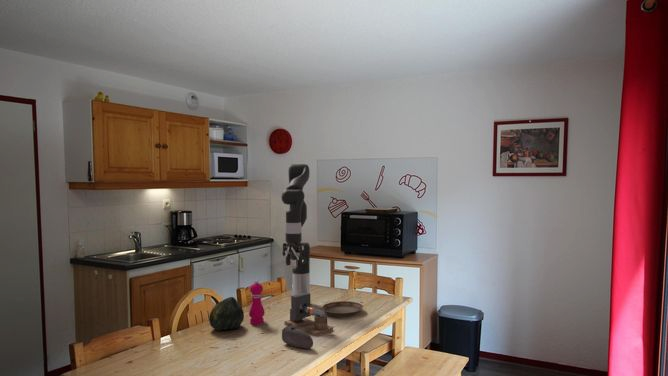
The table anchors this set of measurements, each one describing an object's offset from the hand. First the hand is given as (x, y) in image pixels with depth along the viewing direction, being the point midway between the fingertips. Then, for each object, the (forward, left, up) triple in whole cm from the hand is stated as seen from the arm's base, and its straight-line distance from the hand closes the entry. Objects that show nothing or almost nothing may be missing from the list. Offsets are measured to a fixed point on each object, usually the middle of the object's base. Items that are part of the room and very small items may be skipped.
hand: (293, 266), depth 207 cm
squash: (-15, -27, -26) cm, 41 cm away
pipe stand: (+11, -1, -26) cm, 28 cm away
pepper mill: (-12, -13, -26) cm, 32 cm away
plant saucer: (+6, +26, -27) cm, 38 cm away
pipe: (+11, -1, -20) cm, 23 cm away
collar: (+6, -1, -23) cm, 23 cm away
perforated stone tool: (+25, -19, -26) cm, 41 cm away
